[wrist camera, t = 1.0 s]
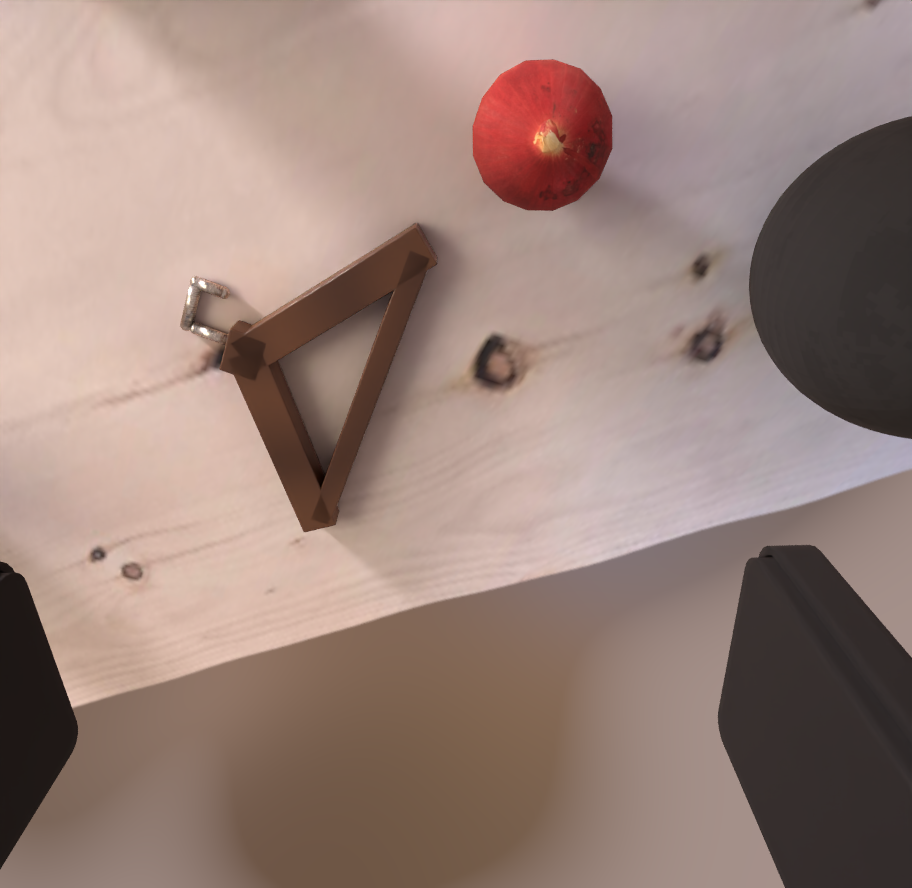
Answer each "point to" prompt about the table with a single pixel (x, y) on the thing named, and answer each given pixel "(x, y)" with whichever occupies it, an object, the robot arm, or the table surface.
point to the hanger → (295, 325)
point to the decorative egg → (844, 280)
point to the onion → (542, 135)
